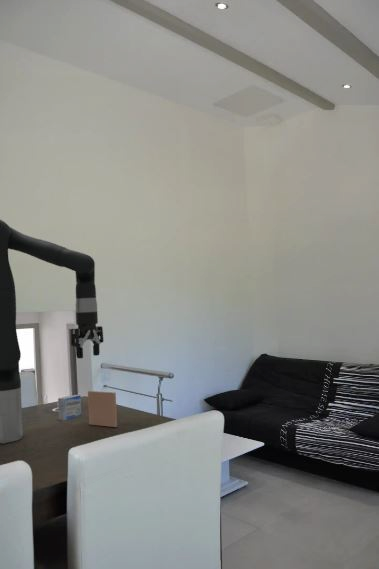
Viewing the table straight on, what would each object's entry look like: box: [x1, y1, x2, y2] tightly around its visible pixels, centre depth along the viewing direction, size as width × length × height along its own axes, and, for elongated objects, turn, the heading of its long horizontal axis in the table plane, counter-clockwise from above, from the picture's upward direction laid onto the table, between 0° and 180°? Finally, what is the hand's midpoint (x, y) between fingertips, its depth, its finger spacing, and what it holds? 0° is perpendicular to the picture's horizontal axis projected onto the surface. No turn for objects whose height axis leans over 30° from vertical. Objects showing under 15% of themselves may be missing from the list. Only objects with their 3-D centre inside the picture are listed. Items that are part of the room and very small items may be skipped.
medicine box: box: [57, 394, 82, 421], centre depth 187 cm, size 8×4×9 cm, turn 143°
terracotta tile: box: [87, 390, 118, 428], centre depth 171 cm, size 1×12×12 cm, turn 61°
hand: (88, 356), depth 167 cm, fingers open, 8 cm apart
